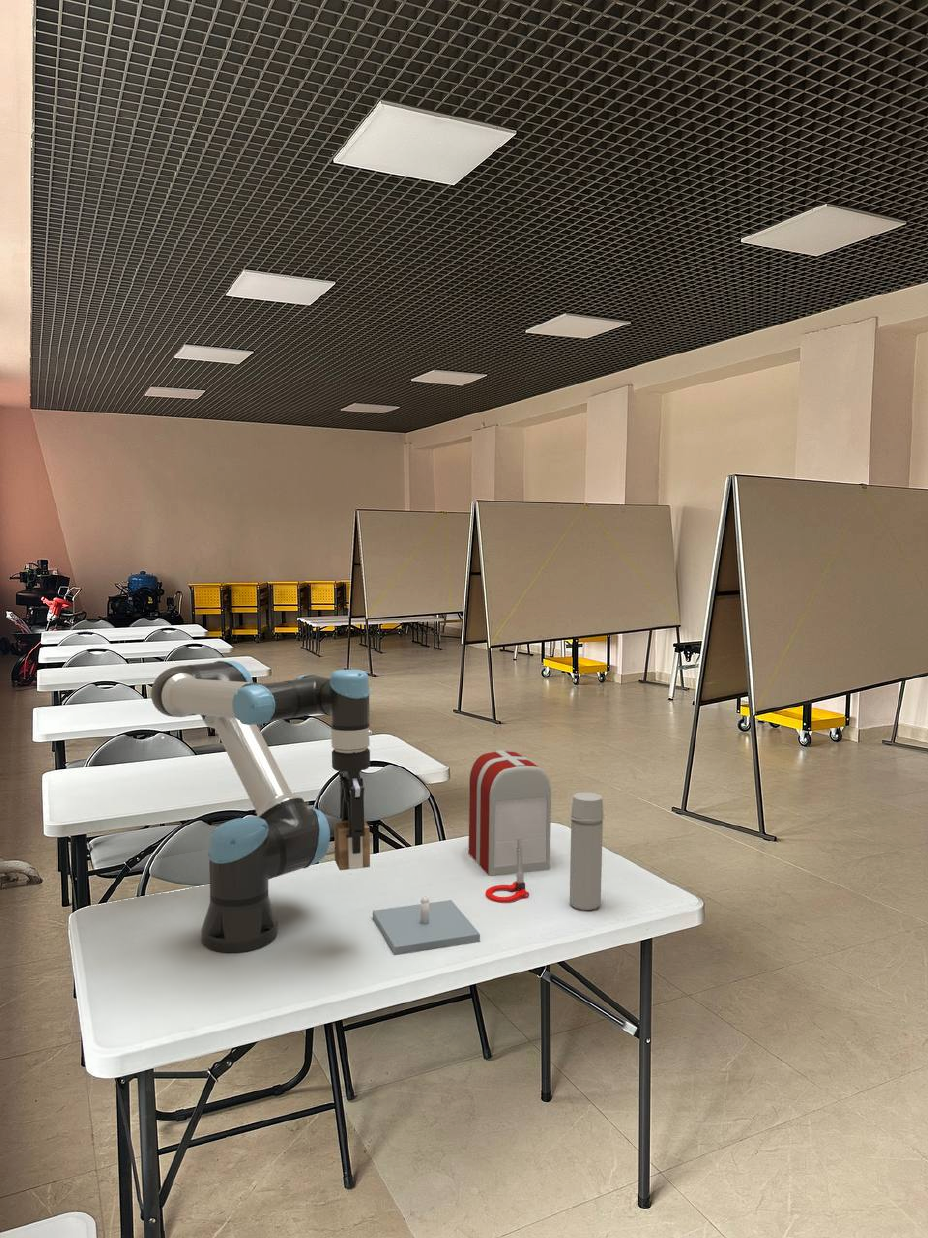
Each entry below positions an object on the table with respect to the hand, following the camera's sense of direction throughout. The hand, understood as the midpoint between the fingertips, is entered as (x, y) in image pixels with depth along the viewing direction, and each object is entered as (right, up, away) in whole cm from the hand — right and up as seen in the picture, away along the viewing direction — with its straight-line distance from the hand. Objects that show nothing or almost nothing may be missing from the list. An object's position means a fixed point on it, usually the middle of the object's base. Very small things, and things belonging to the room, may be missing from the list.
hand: (352, 862), depth 175 cm
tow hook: (+32, -16, +27) cm, 45 cm away
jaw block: (0, 0, 0) cm, 0 cm away
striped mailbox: (+34, -14, +49) cm, 61 cm away
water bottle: (+49, -16, +23) cm, 57 cm away
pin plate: (+14, -17, +9) cm, 24 cm away
